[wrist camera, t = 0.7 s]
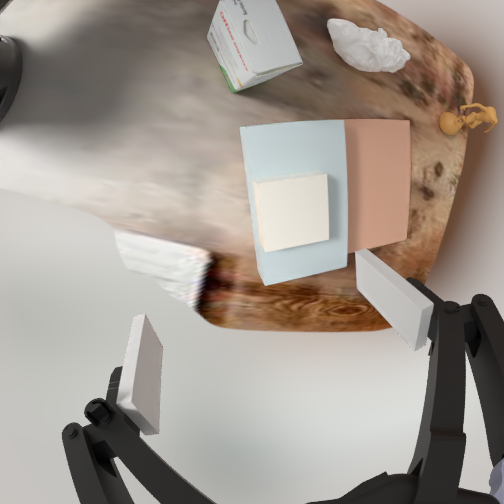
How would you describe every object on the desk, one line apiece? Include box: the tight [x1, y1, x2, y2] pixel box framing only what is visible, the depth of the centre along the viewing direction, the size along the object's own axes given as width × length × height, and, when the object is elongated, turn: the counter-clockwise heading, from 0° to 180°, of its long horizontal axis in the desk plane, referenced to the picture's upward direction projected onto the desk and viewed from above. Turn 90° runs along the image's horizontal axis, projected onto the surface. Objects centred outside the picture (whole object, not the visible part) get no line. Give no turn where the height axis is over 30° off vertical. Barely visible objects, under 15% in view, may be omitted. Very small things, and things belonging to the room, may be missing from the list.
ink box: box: [207, 0, 303, 93], centre depth 24 cm, size 9×5×12 cm, turn 22°
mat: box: [329, 119, 411, 254], centre depth 40 cm, size 20×14×1 cm
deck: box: [239, 120, 348, 286], centre depth 36 cm, size 20×12×4 cm, turn 7°
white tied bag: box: [327, 19, 410, 73], centre depth 27 cm, size 12×8×11 cm
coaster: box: [252, 170, 329, 252], centre depth 33 cm, size 8×8×2 cm
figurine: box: [439, 103, 498, 135], centre depth 32 cm, size 8×6×12 cm
